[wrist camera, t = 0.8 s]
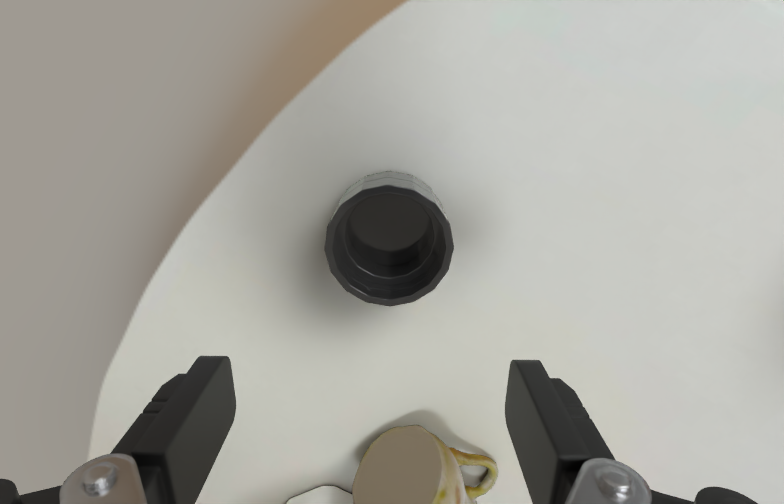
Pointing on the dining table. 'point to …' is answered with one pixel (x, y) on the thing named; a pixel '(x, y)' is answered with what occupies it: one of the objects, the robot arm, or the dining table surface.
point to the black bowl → (389, 239)
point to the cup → (323, 496)
